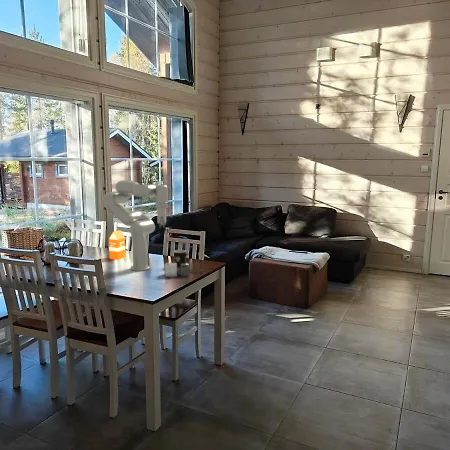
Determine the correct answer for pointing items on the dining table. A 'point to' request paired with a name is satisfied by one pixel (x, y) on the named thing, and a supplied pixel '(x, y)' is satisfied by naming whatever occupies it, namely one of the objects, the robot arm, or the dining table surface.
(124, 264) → the dining table surface
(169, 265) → the lock
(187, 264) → the coupler
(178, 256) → the coffee mug
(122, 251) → the orange juice
